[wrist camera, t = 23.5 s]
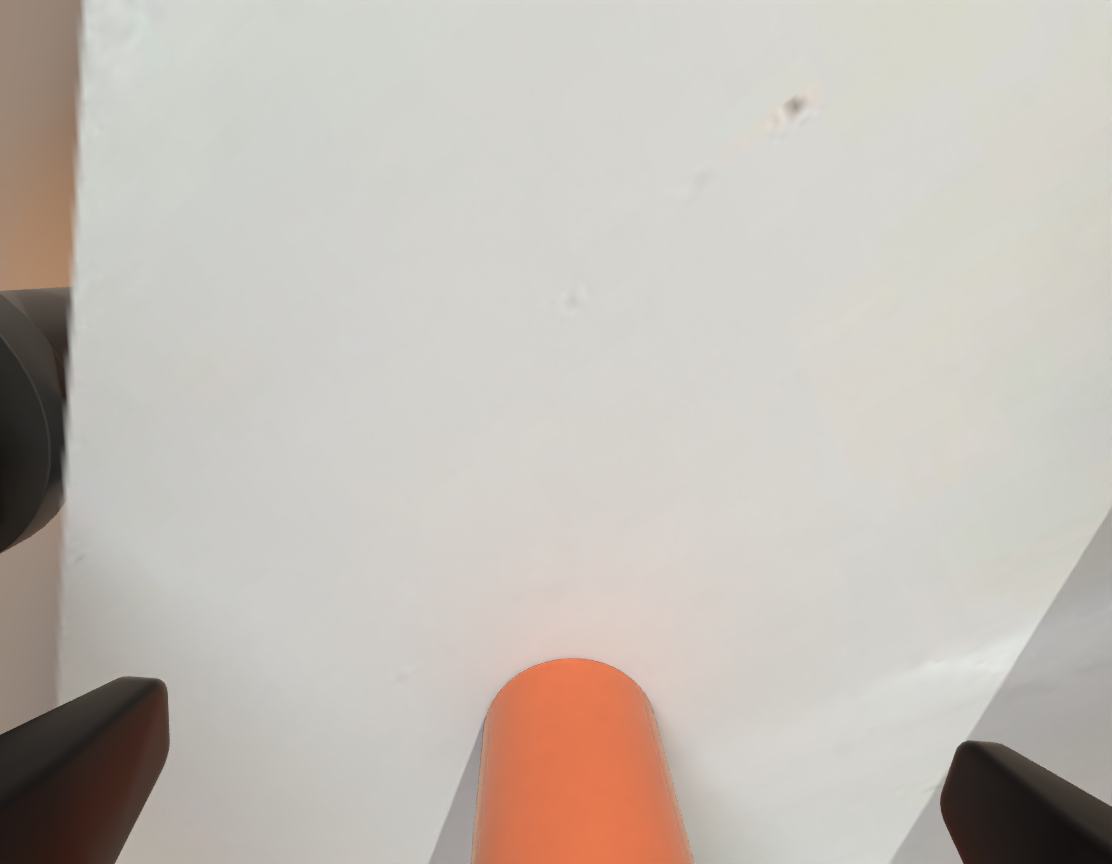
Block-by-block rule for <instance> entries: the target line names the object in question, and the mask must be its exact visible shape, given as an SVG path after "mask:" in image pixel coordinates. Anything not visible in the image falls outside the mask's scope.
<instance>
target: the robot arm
mask: <svg viewBox="0 0 1112 864" xmlns="http://www.w3.org/2000/svg"><path fill="white" fill-rule="evenodd" d="M169 744H170V736H169V713H168V692H167V687H166V685H165V683H164V682H163V681H162V680H160V679H157V678H144V677H131V676H128V677H120V678H118V679H116V680H113V681H111V682H109V683H107V684H105V685H103V686H101V687H99V688H97V689H95V690H93V691H91V692H88V693H86V694H84V695H82V696H80V697H78V698H76V699H74V700H72V701H70V702H68V703H66V704H63V705H61V706H59V707H57V708H55V709H53V710H51V711H49V712H47V713H45V714H43V715H41V716H39V717H36V718H34V719H32V720H30V721H28V722H26V723H24V724H22V725H20V726H18V727H16V728H14V729H12V730H10V731H7V732H5V733H3V734H1V735H0V864H115V862H116V860H117V858H118V856H119V854H120V852H121V850H122V848H123V846H124V844H125V842H126V840H127V838H128V836H129V834H130V832H131V830H132V828H133V826H134V824H135V822H136V820H137V818H138V817H139V815H140V813H141V811H142V809H143V807H144V805H145V803H146V801H147V799H148V797H149V795H150V793H151V791H152V789H153V787H154V785H155V783H156V781H157V779H158V777H159V775H160V773H161V771H162V769H163V767H164V764H165V762H166V759H167V755H168V751H169ZM940 806H941V812H942V816H943V819H944V822H945V824H946V827H947V829H948V831H949V833H950V835H951V837H952V840H953V842H954V844H955V846H956V848H957V850H958V853H959V855H960V857H961V859H962V861H963V863H964V864H1112V807H1111V806H1109V805H1108V804H1106V803H1104V802H1102V801H1101V800H1099V799H1097V798H1096V797H1094V796H1092V795H1090V794H1089V793H1087V792H1085V791H1083V790H1082V789H1080V788H1078V787H1076V786H1075V785H1073V784H1071V783H1069V782H1068V781H1066V780H1064V779H1062V778H1061V777H1059V776H1057V775H1055V774H1054V773H1052V772H1050V771H1048V770H1047V769H1045V768H1043V767H1041V766H1040V765H1038V764H1036V763H1034V762H1033V761H1031V760H1029V759H1028V758H1026V757H1024V756H1022V755H1021V754H1019V753H1017V752H1015V751H1014V750H1012V749H1010V748H1008V747H1006V746H1004V745H1002V744H999V743H994V742H982V741H965V742H963V743H962V744H960V745H959V746H958V748H957V750H956V752H955V755H954V758H953V761H952V764H951V766H950V769H949V772H948V775H947V778H946V781H945V784H944V787H943V790H942V793H941V798H940Z"/></svg>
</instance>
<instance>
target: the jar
mask: <svg viewBox="0 0 1112 864" xmlns="http://www.w3.org/2000/svg"><path fill="white" fill-rule="evenodd" d="M471 864H695V862H694V858H693V855H692V851H691V847H690V844H689V840H688V836H687V833H686V829H685V825H684V822H683V818H682V814H681V811H680V807H679V804H678V800H677V796H676V793H675V789H674V785H673V782H672V778H671V774H670V771H669V767H668V763H667V760H666V756H665V752H664V749H663V745H662V742H661V738H660V734H659V731H658V727H657V723H656V720H655V716H654V712H653V710H652V707H651V704H650V702H649V700H648V698H647V696H646V695H645V693H644V692H643V691H642V689H641V688H640V687H639V686H638V685H637V684H636V683H635V682H634V681H633V680H632V679H631V678H630V677H628V676H627V675H625V674H624V673H623V672H621V671H619V670H617V669H616V668H614V667H611V666H609V665H606V664H604V663H600V662H597V661H593V660H586V659H559V660H554V661H549V662H545V663H542V664H539V665H536V666H534V667H531V668H529V669H527V670H525V671H524V672H522V673H520V674H519V675H517V676H516V677H514V678H513V679H512V680H511V681H509V682H508V683H507V684H506V685H505V686H504V687H503V688H502V689H501V690H500V692H499V693H498V694H497V696H496V697H495V698H494V700H493V702H492V704H491V706H490V707H489V710H488V712H487V715H486V718H485V723H484V729H483V740H482V750H481V760H480V771H479V781H478V791H477V802H476V812H475V822H474V833H473V843H472V853H471Z"/></svg>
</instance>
